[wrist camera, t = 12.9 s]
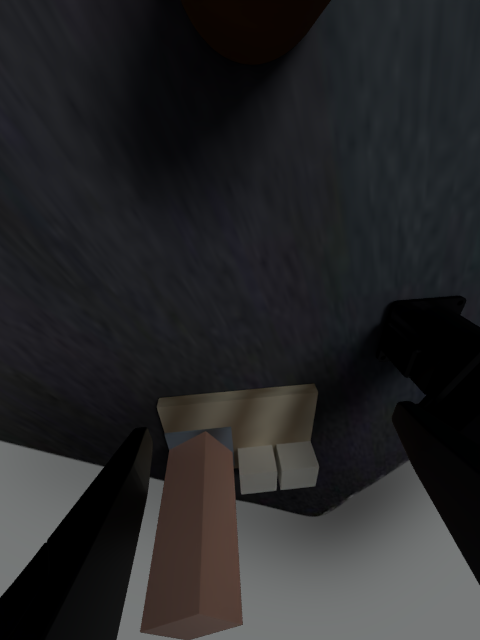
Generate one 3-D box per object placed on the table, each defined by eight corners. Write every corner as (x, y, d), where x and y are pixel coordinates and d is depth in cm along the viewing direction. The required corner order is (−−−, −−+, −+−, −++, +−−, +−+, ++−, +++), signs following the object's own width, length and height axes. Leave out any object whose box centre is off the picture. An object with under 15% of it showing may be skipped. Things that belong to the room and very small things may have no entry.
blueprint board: (314, 383, 27) (318, 393, 26) (304, 451, 33) (307, 462, 32) (159, 397, 26) (156, 409, 25) (178, 464, 32) (177, 476, 31)
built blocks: (310, 440, 30) (319, 466, 28) (307, 460, 32) (315, 486, 30) (237, 448, 30) (239, 475, 27) (239, 467, 32) (241, 494, 29)
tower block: (205, 431, 27) (199, 613, 16) (232, 452, 30) (242, 624, 19) (169, 449, 28) (139, 632, 17) (198, 468, 31) (188, 640, 20)
